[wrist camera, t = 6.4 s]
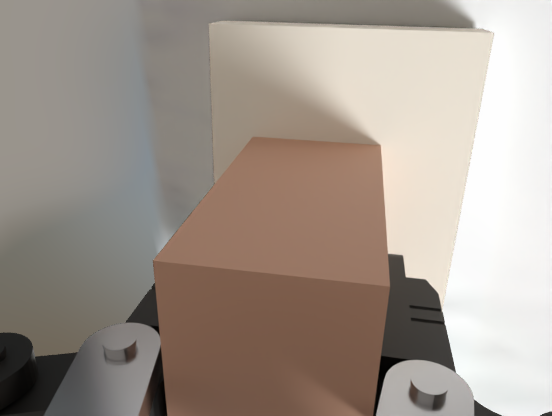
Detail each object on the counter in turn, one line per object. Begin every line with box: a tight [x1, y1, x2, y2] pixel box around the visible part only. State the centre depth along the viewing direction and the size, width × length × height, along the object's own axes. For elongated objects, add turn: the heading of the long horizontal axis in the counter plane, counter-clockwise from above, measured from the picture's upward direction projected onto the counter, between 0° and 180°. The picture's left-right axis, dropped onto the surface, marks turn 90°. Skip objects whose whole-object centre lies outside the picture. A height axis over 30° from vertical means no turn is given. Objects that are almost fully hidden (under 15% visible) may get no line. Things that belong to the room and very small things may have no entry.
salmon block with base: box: [153, 21, 494, 416], centre depth 11 cm, size 6×11×7 cm, turn 179°
